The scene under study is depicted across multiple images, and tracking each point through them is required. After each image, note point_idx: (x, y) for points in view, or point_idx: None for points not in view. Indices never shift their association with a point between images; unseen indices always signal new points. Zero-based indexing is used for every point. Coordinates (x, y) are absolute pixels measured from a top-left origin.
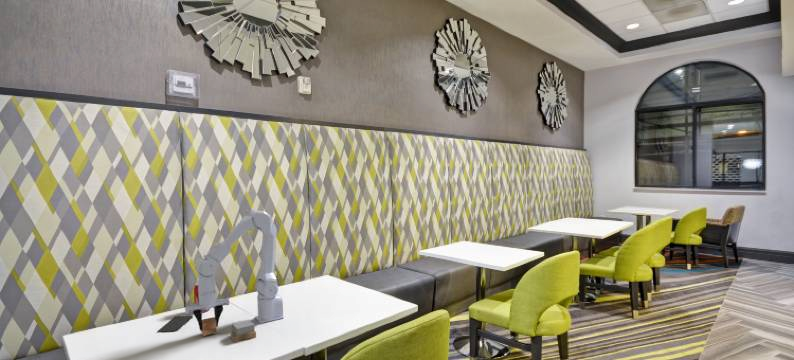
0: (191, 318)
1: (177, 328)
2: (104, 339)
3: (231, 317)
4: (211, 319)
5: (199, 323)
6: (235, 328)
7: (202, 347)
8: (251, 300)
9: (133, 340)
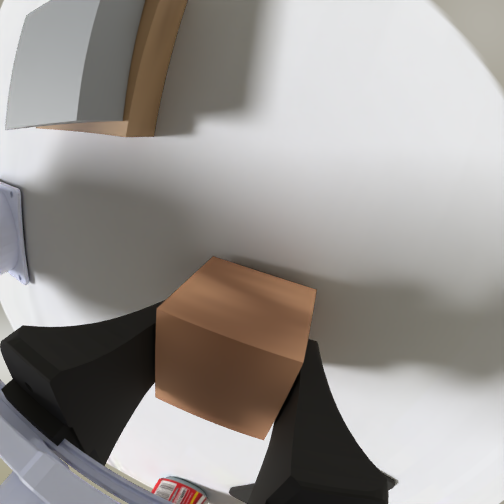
0: (239, 486)
1: None
2: (479, 496)
3: None
4: (185, 376)
5: (325, 389)
6: (105, 14)
7: (409, 97)
8: None
9: (476, 468)
